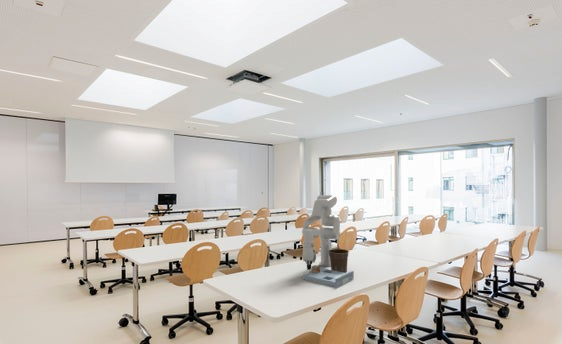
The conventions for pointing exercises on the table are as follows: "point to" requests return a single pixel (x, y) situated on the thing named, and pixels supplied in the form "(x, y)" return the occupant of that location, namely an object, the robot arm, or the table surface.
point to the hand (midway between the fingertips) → (309, 269)
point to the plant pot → (338, 259)
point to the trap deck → (329, 277)
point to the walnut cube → (315, 269)
